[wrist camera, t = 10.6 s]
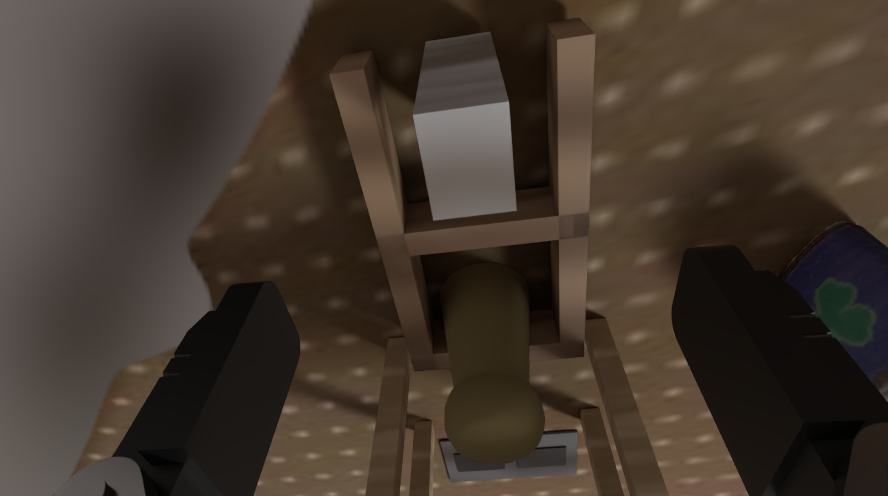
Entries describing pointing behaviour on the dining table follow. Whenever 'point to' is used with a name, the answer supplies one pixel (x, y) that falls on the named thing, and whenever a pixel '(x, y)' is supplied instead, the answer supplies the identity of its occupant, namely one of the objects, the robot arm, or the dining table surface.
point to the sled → (477, 178)
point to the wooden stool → (548, 456)
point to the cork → (490, 365)
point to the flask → (848, 293)
